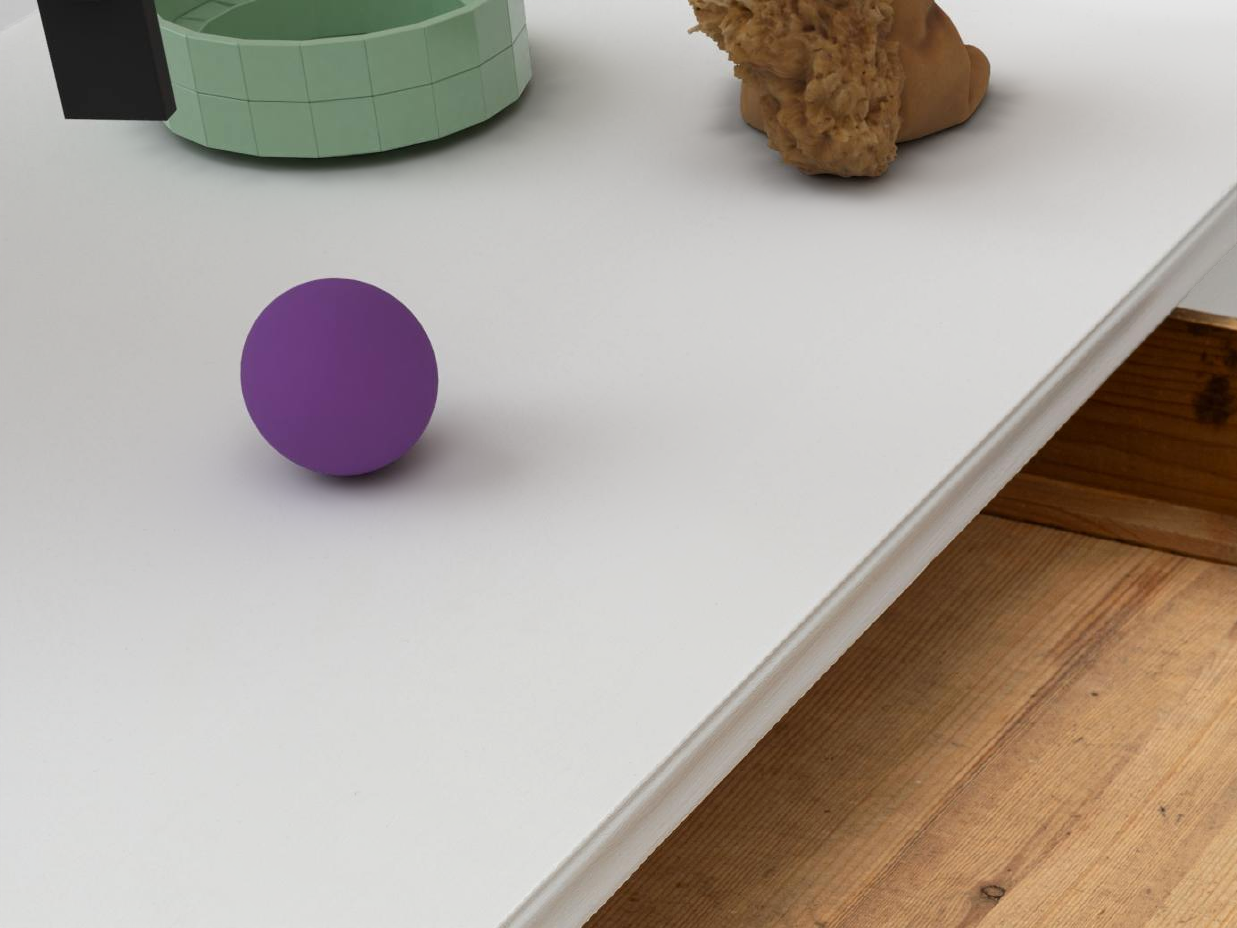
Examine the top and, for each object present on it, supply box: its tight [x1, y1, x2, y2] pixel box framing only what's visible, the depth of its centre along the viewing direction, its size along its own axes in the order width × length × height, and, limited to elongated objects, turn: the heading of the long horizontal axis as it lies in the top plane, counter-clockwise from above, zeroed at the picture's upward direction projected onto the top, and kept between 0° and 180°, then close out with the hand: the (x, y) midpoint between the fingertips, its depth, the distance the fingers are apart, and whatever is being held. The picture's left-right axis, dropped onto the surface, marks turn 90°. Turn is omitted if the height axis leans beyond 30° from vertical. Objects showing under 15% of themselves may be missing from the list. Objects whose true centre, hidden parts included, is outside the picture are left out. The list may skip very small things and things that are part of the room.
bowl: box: [154, 0, 533, 159], centre depth 104 cm, size 15×15×5 cm
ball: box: [239, 277, 440, 477], centre depth 80 cm, size 6×6×6 cm
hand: (210, 21), depth 71 cm, fingers open, 13 cm apart
